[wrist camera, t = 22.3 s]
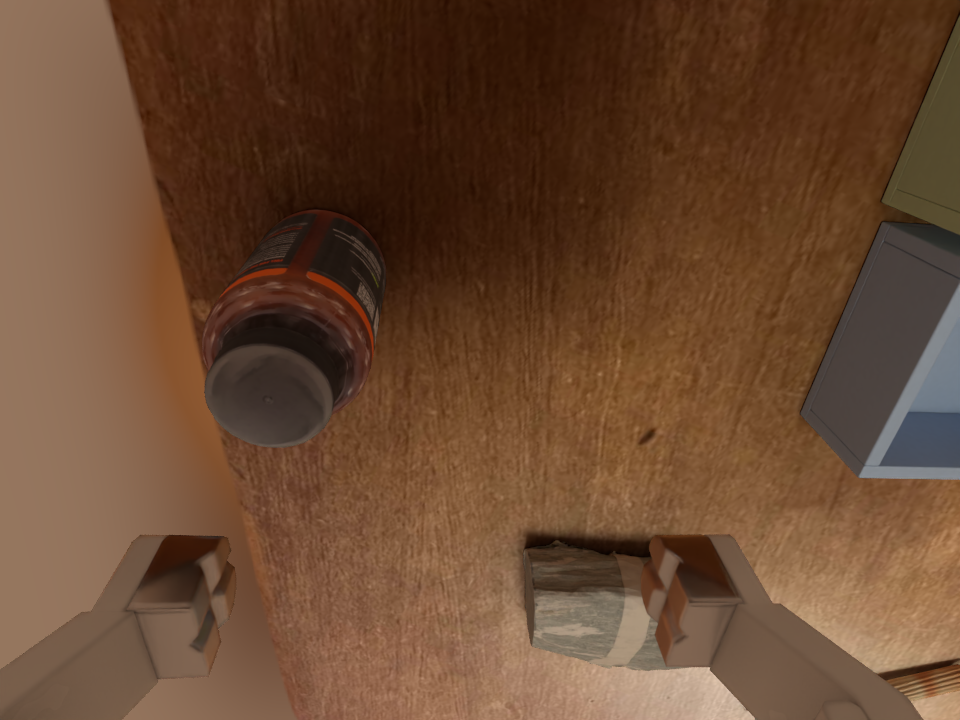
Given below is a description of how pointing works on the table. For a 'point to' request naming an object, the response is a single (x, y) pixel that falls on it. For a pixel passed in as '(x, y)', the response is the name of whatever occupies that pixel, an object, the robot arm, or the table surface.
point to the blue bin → (896, 361)
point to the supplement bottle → (295, 330)
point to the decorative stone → (590, 607)
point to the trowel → (928, 683)
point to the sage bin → (933, 150)
